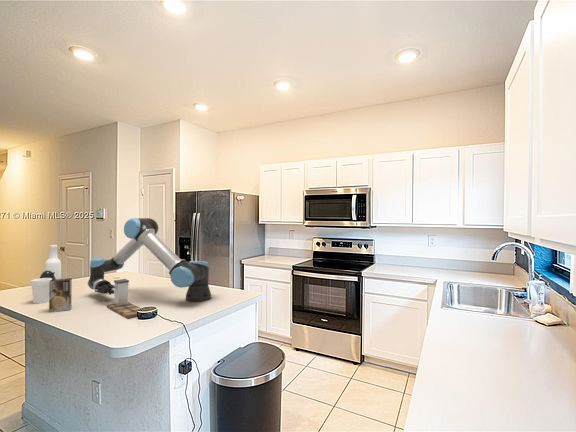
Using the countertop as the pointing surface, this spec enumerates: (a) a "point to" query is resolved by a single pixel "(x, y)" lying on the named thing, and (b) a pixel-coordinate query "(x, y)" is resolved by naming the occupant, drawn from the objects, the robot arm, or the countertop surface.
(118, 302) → the silver square canister
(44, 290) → the foam cup
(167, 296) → the countertop surface
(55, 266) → the alcohol
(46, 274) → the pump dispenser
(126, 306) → the rail board
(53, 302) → the coffee box
